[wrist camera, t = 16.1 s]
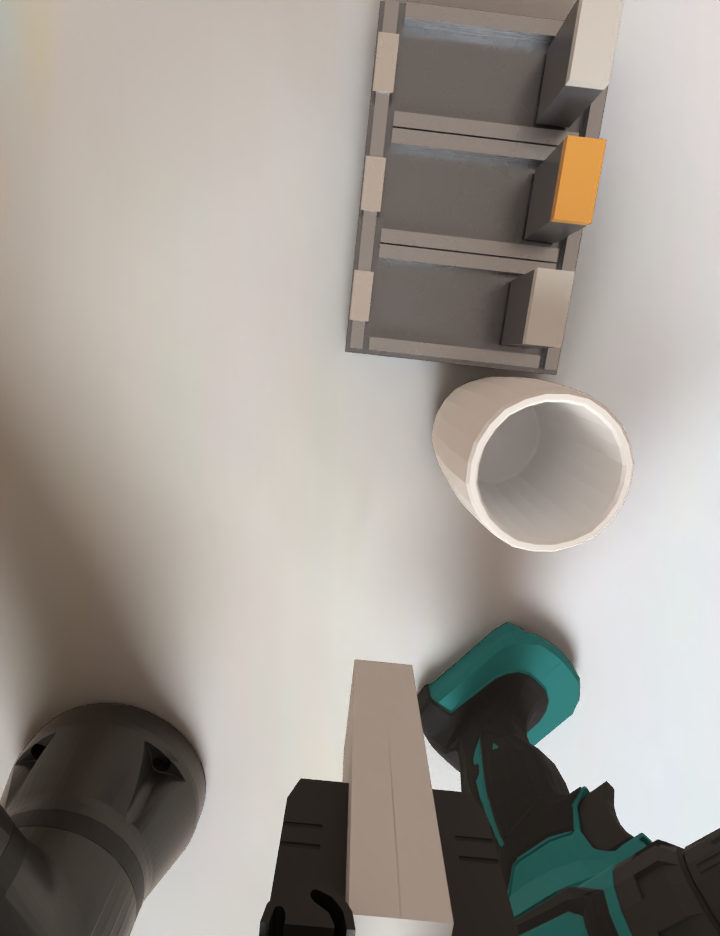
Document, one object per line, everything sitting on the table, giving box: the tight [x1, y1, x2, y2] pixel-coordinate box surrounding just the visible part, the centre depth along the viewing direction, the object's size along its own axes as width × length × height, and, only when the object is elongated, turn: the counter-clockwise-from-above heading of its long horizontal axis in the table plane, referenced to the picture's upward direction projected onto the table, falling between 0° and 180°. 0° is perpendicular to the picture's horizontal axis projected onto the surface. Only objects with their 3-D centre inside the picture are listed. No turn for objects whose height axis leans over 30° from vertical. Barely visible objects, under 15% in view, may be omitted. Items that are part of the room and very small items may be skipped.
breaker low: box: [501, 268, 575, 348], centre depth 32 cm, size 2×4×5 cm, turn 174°
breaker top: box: [536, 0, 624, 128], centre depth 30 cm, size 2×4×5 cm, turn 174°
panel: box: [345, 0, 608, 375], centre depth 35 cm, size 14×20×3 cm
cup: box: [432, 377, 634, 552], centre depth 32 cm, size 8×8×14 cm
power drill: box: [417, 622, 720, 936], centre depth 31 cm, size 26×9×25 cm, turn 135°
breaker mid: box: [524, 135, 606, 243], centre depth 31 cm, size 2×4×5 cm, turn 174°
